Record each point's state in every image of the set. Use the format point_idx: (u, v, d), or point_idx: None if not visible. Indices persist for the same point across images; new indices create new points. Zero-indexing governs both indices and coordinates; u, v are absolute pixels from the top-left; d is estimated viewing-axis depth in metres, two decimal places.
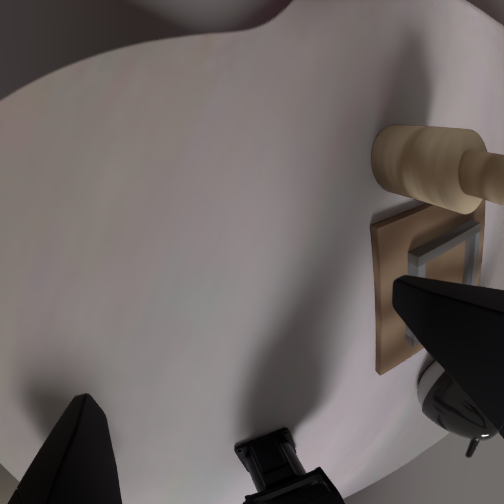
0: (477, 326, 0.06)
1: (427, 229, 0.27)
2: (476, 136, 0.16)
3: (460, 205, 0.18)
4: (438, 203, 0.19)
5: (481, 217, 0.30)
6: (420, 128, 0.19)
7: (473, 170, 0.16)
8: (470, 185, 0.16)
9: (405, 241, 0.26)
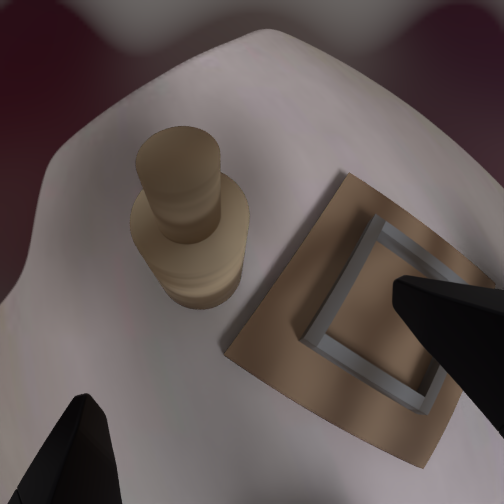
0: (477, 326, 0.06)
1: (303, 295, 0.21)
2: None
3: (203, 259, 0.14)
4: (198, 282, 0.16)
5: (384, 204, 0.25)
6: None
7: (155, 217, 0.14)
8: (172, 233, 0.14)
9: (281, 333, 0.20)
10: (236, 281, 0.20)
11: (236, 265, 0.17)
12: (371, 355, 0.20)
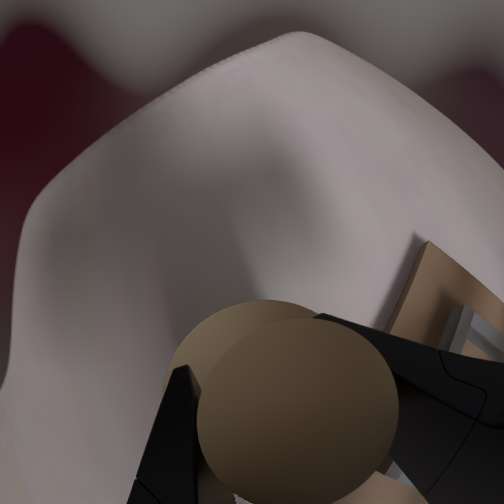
0: None
1: None
2: (225, 318, 0.09)
3: None
4: None
5: (465, 281, 0.18)
6: None
7: None
8: None
9: None
10: None
11: None
12: None
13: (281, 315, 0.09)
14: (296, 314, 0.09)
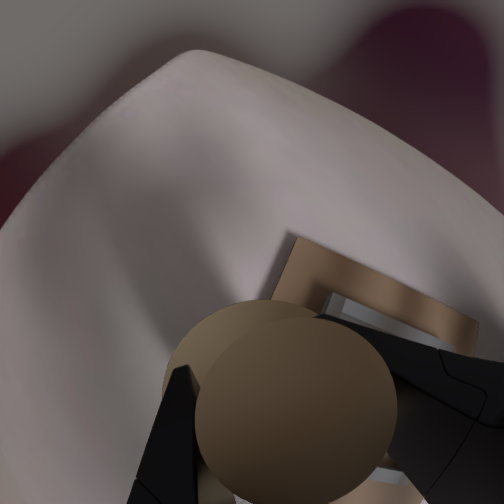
0: None
1: None
2: (224, 317, 0.09)
3: None
4: None
5: (343, 267, 0.22)
6: None
7: None
8: None
9: None
10: None
11: None
12: None
13: (280, 315, 0.09)
14: (295, 314, 0.09)
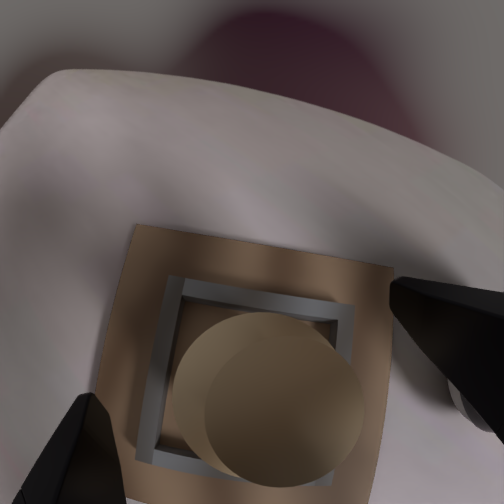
0: (474, 328, 0.06)
1: (125, 405, 0.16)
2: (226, 328, 0.10)
3: None
4: None
5: (189, 244, 0.20)
6: None
7: None
8: None
9: (121, 451, 0.15)
10: None
11: None
12: None
13: (275, 325, 0.11)
14: (288, 324, 0.11)
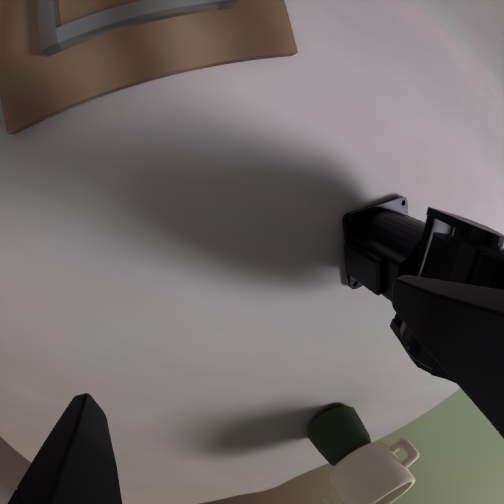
0: (477, 326, 0.06)
1: (24, 27, 0.11)
2: None
3: None
4: None
5: None
6: None
7: None
8: None
9: (30, 68, 0.12)
10: None
11: None
12: (127, 1, 0.12)
13: None
14: None
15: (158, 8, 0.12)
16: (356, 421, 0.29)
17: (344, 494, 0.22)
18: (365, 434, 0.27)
